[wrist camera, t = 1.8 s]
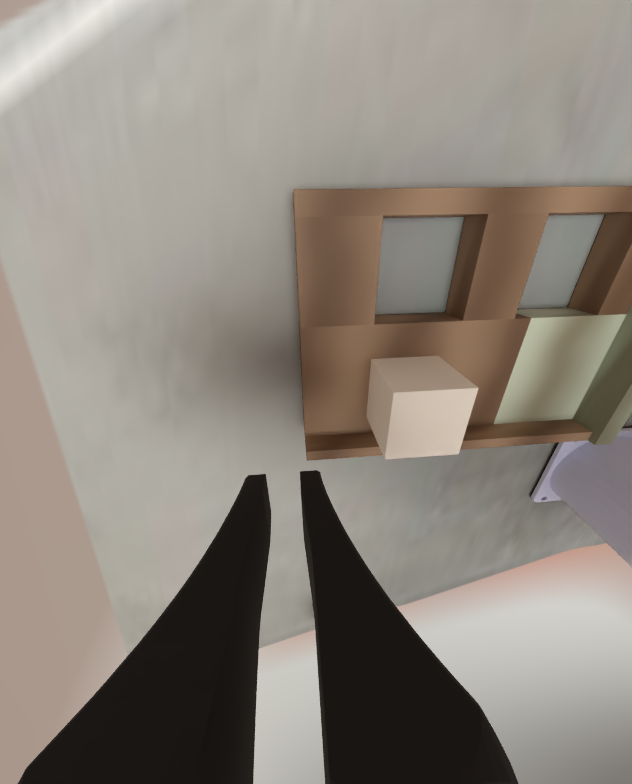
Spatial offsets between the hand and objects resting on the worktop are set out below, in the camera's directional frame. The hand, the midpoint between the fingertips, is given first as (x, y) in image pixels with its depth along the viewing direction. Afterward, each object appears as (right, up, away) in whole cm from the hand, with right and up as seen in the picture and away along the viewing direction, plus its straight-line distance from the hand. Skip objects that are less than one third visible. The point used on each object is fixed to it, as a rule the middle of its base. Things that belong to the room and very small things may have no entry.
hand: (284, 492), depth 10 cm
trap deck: (+10, +8, +7) cm, 15 cm away
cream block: (+6, +4, +7) cm, 10 cm away
